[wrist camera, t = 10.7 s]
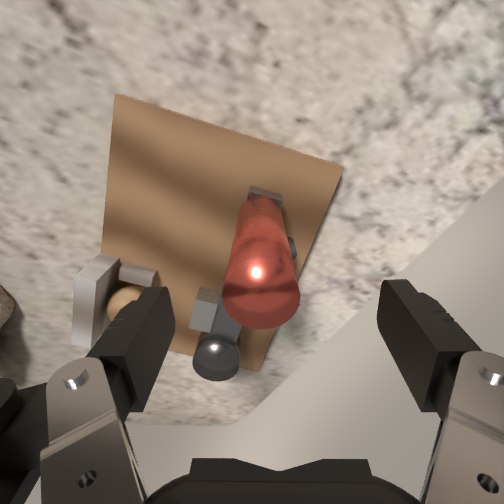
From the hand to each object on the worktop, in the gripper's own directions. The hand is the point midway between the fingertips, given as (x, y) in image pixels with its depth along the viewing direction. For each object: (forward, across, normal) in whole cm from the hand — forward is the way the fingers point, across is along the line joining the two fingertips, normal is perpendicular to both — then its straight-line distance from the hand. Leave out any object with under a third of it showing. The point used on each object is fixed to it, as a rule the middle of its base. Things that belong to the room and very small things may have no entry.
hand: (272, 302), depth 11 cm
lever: (+12, +3, +6) cm, 14 cm away
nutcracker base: (+15, +6, +5) cm, 17 cm away
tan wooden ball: (+13, +13, +8) cm, 20 cm away
